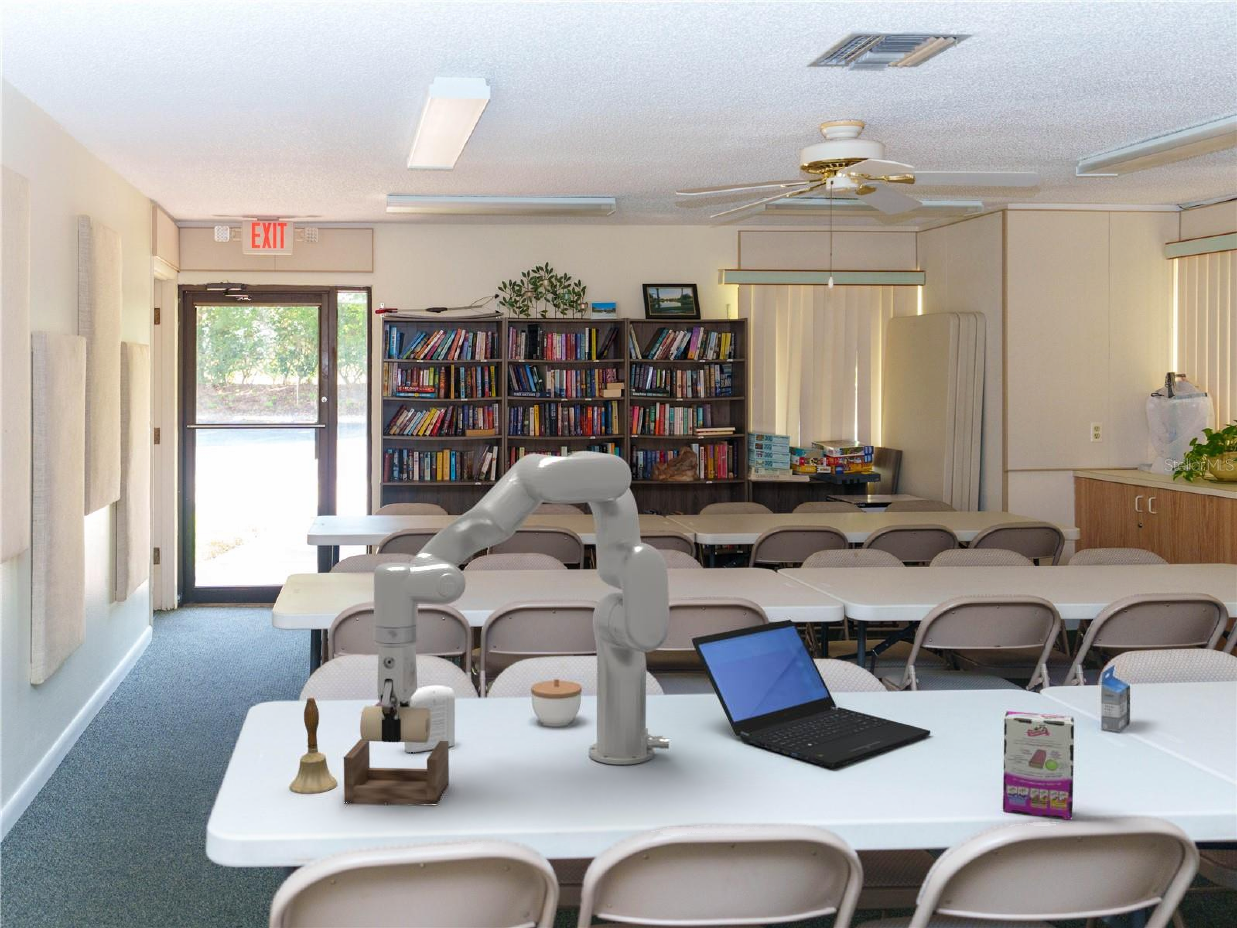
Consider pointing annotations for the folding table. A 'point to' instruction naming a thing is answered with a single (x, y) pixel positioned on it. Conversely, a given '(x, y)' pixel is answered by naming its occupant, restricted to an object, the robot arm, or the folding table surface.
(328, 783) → the hand bell
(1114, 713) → the label tape box
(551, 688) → the lidded jar
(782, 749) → the laptop
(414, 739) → the paper roll
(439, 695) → the photo printer
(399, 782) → the roll cradle
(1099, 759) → the folding table surface
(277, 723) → the folding table surface
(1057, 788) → the candy bar box
